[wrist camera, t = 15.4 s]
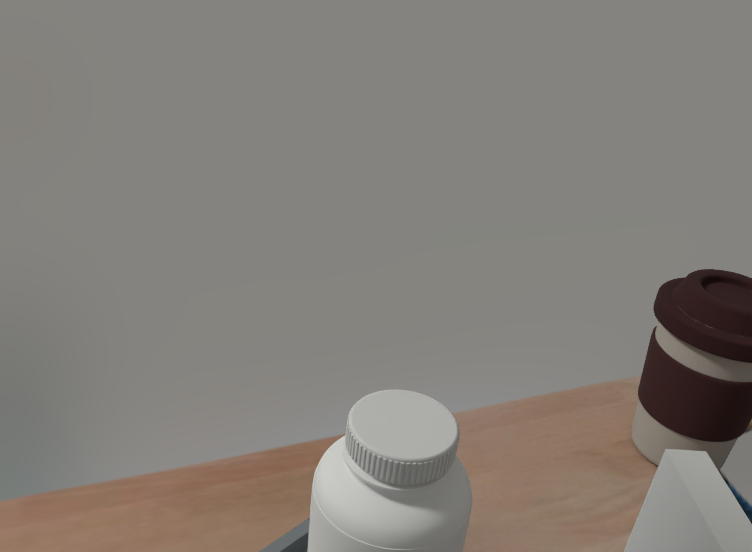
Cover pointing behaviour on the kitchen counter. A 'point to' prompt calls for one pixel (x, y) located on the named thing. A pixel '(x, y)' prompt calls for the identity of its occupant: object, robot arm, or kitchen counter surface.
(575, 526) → the kitchen counter surface
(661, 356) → the coffee cup
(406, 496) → the pill bottle
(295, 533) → the tray
